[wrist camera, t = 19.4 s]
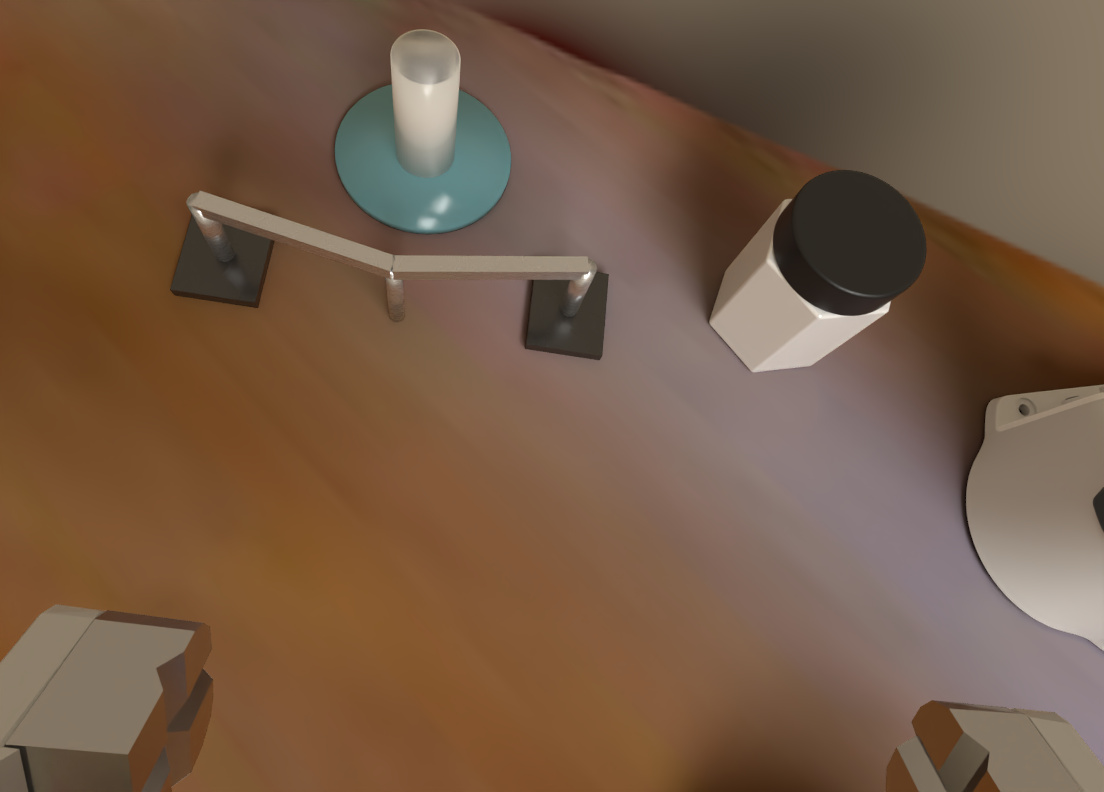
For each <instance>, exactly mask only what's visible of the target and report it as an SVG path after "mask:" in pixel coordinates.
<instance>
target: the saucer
mask: <svg viewBox="0 0 1104 792" xmlns="http://www.w3.org/2000/svg"><path fill="white" fill-rule="evenodd" d="M335 160H336V166H337V170H338V174H339V177H340V180H341V182H342V185H343V186H344V188H345V190H346V192H347V193H348V195H349V196H350V197H351V199H352V200H353V201H354V202H355V203H356V204H357V205H358V206H359V207H360V208H361V209H362V210H363V211H364V212H365V213H367V214H368V215H369V216H371V217H372V218H374V219H376V220H377V221H379V222H381V223H383V224H385V225H387V226H389V227H392V228H395V229H398V230H401V231H405V232H410V233H416V234H440V233H446V232H452V231H455V230H459V229H462V228H464V227H466V226H469V225H471V224H473V223H475V222H476V221H478V220H480V219H481V218H482V217H484V216H485V215H486V214H487V213H489V212H490V211H491V210H492V208H493V207H494V206H495V205H496V204H497V203H498V201H499V200H500V198H501V197H502V195H503V193H504V191H505V189H506V186H507V183H508V180H509V175H510V168H511V152H510V146H509V142H508V139H507V136H506V134H505V132H504V130H503V128H502V126H501V124H500V123H499V121H498V120H497V118H496V117H495V116H494V115H493V114H492V112H491V111H490V110H489V109H488V108H487V107H485V106H484V105H483V104H482V103H481V102H479V101H478V100H477V99H475V98H474V97H472V96H471V95H469V94H467V93H465V92H463V91H461V90H459V95H458V110H457V126H456V141H455V157H454V161H453V164H452V166H451V167H450V168H449V169H448V171H446V172H445V173H444V174H442V175H440V176H437V177H433V178H422V177H417V176H414V175H412V174H410V173H408V172H407V171H406V170H404V169H403V168H402V166H401V165H400V164H399V162H398V160H397V157H396V146H395V129H394V111H393V94H392V84H390V85H387V86H384V87H381V88H379V89H377V90H375V91H373V92H371V93H369V94H368V95H366V96H365V97H363V98H362V99H360V100H359V101H358V102H357V103H356V104H355V105H354V106H353V107H352V108H351V109H350V110H349V111H348V113H347V114H346V116H345V117H344V119H343V120H342V122H341V125H340V127H339V129H338V132H337V136H336V140H335Z"/></svg>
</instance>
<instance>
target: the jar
mask: <svg viewBox="0 0 1104 792" xmlns="http://www.w3.org/2000/svg"><path fill="white" fill-rule="evenodd" d="M925 258H926V238H925V234H924V230H923V227H922V224H921V222H920V219H919V218H918V216H917V214H916V212H915V211H914V209H913V208H912V206H911V205H910V204H909V202H908V201H907V200H906V199H905V198H904V197H903V196H902V195H901V194H900V193H899V192H898V191H897V190H896V189H894V188H893V187H892V186H890V185H889V184H887V183H886V182H884V181H882V180H880V179H878V178H876V177H874V176H872V175H869V174H865V173H862V172H858V171H851V170H837V171H831V172H827V173H824V174H821V175H819V176H817V177H815V178H813V179H812V180H810V181H809V182H808V183H806V184H805V185H804V186H803V188H802V189H801V190H800V191H799V192H798V193H797V195H796V196H795V197H794V198H793V199H785V200H784V201H783V202H782V203H781V204H780V205H779V207H778V208H777V209H776V210H775V211H774V213H773V214H772V215H771V216H770V217H769V219H768V220H767V221H766V222H765V223H764V225H763V226H762V227H761V228H760V230H759V231H758V232H757V233H756V234H755V236H754V237H753V238H752V239H751V240H750V242H749V243H748V244H747V245H746V246H745V248H744V249H743V250H742V251H741V253H740V254H739V255H738V256H737V257H736V259H735V260H734V261H733V262H732V263H731V265H730V266H729V267H728V268H727V269H726V271H725V274H724V277H723V280H722V283H721V286H720V290H719V293H718V296H717V299H716V302H715V305H714V308H713V311H712V314H711V317H710V320H709V323H710V325H711V326H712V327H713V328H714V330H715V331H716V332H717V333H718V334H719V335H720V336H721V338H722V339H723V340H724V341H725V342H726V343H727V344H728V346H729V347H730V348H731V349H732V350H733V351H734V352H735V353H736V355H737V356H738V357H739V358H740V359H741V360H742V361H743V363H744V364H745V365H746V366H747V367H748V368H749V370H750V371H752V372H761V371H770V370H779V369H788V368H796V367H805V366H811V365H813V364H814V363H816V362H817V361H819V360H820V359H821V358H823V357H824V356H826V355H827V354H829V353H830V352H831V351H833V350H834V349H836V348H837V347H839V346H840V345H841V344H843V343H844V342H846V341H847V340H849V339H850V338H851V337H853V336H854V335H856V334H857V333H859V332H860V331H862V330H863V329H864V328H866V327H867V326H869V325H870V324H872V323H873V322H874V321H876V320H877V319H879V318H880V317H882V316H883V315H884V314H886V313H887V312H888V311H889V307H890V303H891V300H892V299H894V298H895V297H897V296H898V295H899V294H901V293H902V292H904V291H905V290H906V289H908V288H909V287H910V286H911V285H912V284H913V283H914V282H915V281H916V279H917V278H918V277H919V275H920V273H921V271H922V269H923V266H924V263H925Z"/></svg>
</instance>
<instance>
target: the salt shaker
mask: <svg viewBox="0 0 1104 792" xmlns="http://www.w3.org/2000/svg"><path fill="white" fill-rule="evenodd" d="M390 58H391V76H392V94H393V111H394V129H395V146H396V157H397V160H398V162H399V164H400V165H401V166H402V168H403V169H404V170H406V171H407V172H408V173H410V174H412V175H414V176H417V177H422V178H433V177H437V176H440V175H442V174H444V173H445V172H446V171H448V169H449V168H450V167H451V166H452V164H453V161H454V157H455V141H456V126H457V110H458V95H459V79H460V64H461V58H460V53H459V51H458V48H457V47H456V45H455V44H454V43H453V42H452V41H451V40H450V39H449V38H448V37H446V36H445V35H443V34H441V33H439V32H436V31H432V30H426V29H418V30H412V31H409V32H406V33H404V34H403V35H401V36H400V37H399V38H397V40H396V41H395V42H394V44H393V45H392V48H391V53H390Z"/></svg>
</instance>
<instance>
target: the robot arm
mask: <svg viewBox="0 0 1104 792" xmlns="http://www.w3.org/2000/svg"><path fill="white" fill-rule="evenodd" d="M1019 409H1020V410H1021V412H1022V414H1021V413H1020V411H1019ZM966 510H967V518H968V524H969V529H970V532H971V536H972V539H973V542H974V545H975V547H976V550H977V552H978V555H979V557H980V559H981V561H982V563H983V565H984V566H985V568H986V570H987V571H988V573H989V575H990V576H991V578H992V579H993V580H994V582H995V583H996V584H997V586H998V587H999V588H1000V589H1001V591H1002V592H1003V593H1004V594H1005V595H1006V596H1007V597H1008V598H1009V599H1010V600H1011V601H1012V602H1013V603H1014V604H1015V605H1016V606H1017V607H1019V608H1020V609H1021V610H1022V611H1024V612H1025V613H1027V614H1028V615H1029V616H1031V617H1032V618H1034V619H1036V620H1037V621H1039V622H1041V623H1043V624H1045V625H1047V626H1050V627H1052V628H1055V629H1057V630H1061V631H1064V632H1068V633H1072V634H1075V635H1079V636H1081V637H1084V638H1086V639H1088V640H1090V641H1091V642H1092V643H1094V644H1095V645H1096V646H1098V647H1099V648H1100V649H1101V650H1103V651H1104V385H1095V386H1086V387H1077V388H1068V389H1059V390H1050V391H1041V392H1032V393H1023V394H1014V395H1006V396H1003V397H999V398H995V399H993V400H991V401H990V402H989V404H988V406H987V409H986V417H985V438H984V442H983V444H982V447H981V449H980V451H979V453H978V455H977V457H976V459H975V461H974V463H973V465H972V468H971V471H970V474H969V478H968V483H967V491H966ZM211 650H212V645H211V632H210V626H208V625H206V624H205V623H200V622H192V621H185V620H177V619H169V618H162V617H154V616H147V615H139V614H132V613H124V612H117V611H109V610H107V611H103V610H95V609H87V608H80V607H72V606H64V605H57V604H56V605H54V606H53V607H51V608H49V609H48V610H46V611H45V612H43V613H41V614H40V615H39V616H38V617H37V618H36V619H35V621H34V622H33V623H32V624H31V626H30V627H29V628H28V629H27V630H26V632H25V633H24V634H23V635H22V637H21V638H20V639H19V640H18V641H17V643H16V644H15V645H14V646H13V648H12V649H11V650H10V651H9V652H8V654H7V655H6V656H5V657H4V659H3V660H2V661H1V662H0V792H172V789H171V787H172V786H174V785H175V784H176V783H178V782H179V781H180V780H182V779H183V778H184V777H185V776H187V775H188V774H189V773H191V772H192V769H193V767H194V765H195V762H196V760H197V758H198V755H199V753H200V750H201V748H202V746H203V742H204V739H205V735H206V732H207V728H208V724H209V721H210V717H211V710H212V702H213V679H212V678H211V677H210V676H209V675H208V673H207V672H206V671H205V670H204V669H203V666H204V664H205V662H206V660H207V658H208V656H209V654H210V652H211ZM912 725H913V728H914V730H915V733H916V736H915V737H913V738H911V739H910V740H908V741H907V742H905V743H903V744H902V745H900V746H898V747H897V748H896V750H895V752H894V754H893V756H892V758H891V760H890V762H889V764H888V766H887V776H886V792H1104V766H1103V765H1102V764H1101V763H1100V761H1099V760H1098V759H1097V757H1096V756H1095V755H1094V753H1093V752H1092V751H1091V750H1090V748H1089V747H1088V746H1087V744H1086V743H1085V742H1084V741H1083V739H1082V738H1081V737H1080V735H1079V734H1078V733H1077V732H1076V730H1075V729H1074V728H1073V726H1072V725H1071V724H1070V723H1069V722H1068V721H1066V720H1065V719H1064V718H1062V717H1061V716H1059V715H1058V714H1056V713H1055V712H1045V711H1035V710H1025V709H1015V708H1014V709H1009V708H1006V707H997V706H987V705H976V704H966V703H955V702H945V701H934V700H932V701H930V702H928V703H927V704H925V705H923V706H921V707H920V709H919V710H918V712H917V714H916V715H915V717H914V719H913V720H912Z"/></svg>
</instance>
